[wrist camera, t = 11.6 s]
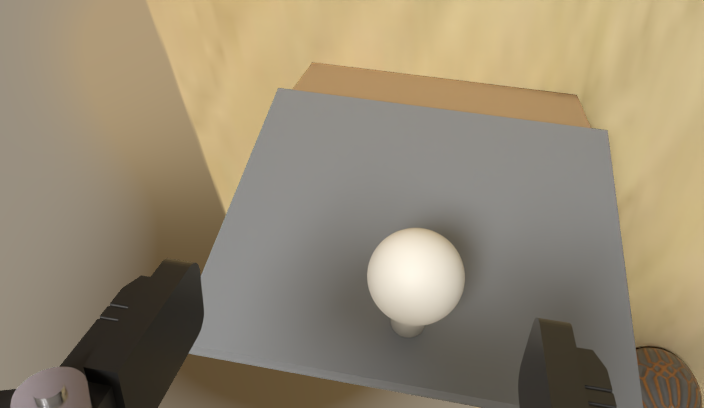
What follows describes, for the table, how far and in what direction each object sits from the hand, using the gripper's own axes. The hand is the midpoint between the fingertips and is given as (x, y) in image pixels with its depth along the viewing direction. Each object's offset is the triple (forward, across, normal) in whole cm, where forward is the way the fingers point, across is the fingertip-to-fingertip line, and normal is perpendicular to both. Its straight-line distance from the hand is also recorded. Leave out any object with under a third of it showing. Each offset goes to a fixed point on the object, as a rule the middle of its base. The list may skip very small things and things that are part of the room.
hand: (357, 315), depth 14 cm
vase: (+33, -24, +30) cm, 51 cm away
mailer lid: (+16, -1, +8) cm, 18 cm away
